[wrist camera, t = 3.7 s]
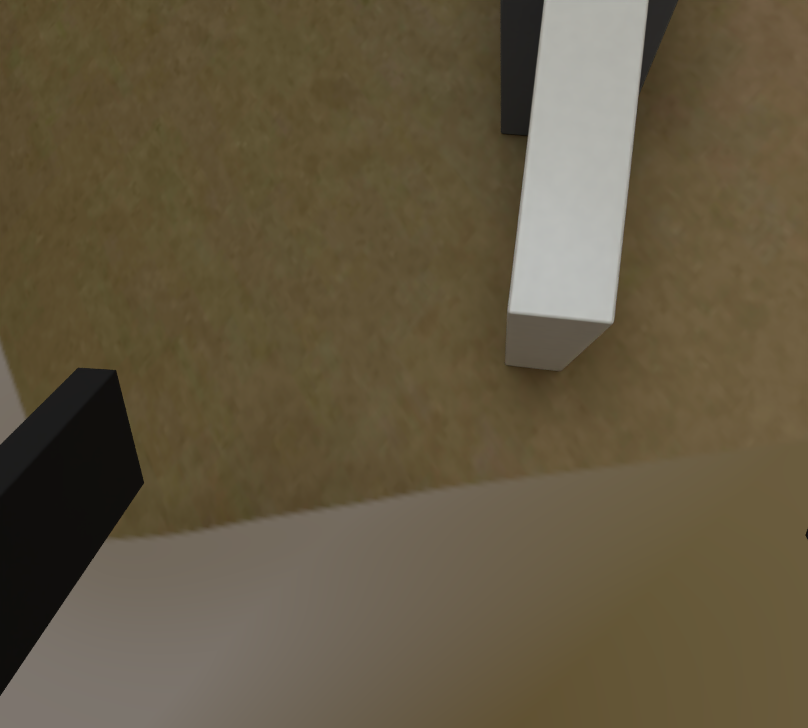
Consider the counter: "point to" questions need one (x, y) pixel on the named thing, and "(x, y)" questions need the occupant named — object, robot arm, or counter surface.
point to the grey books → (521, 52)
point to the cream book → (575, 180)
